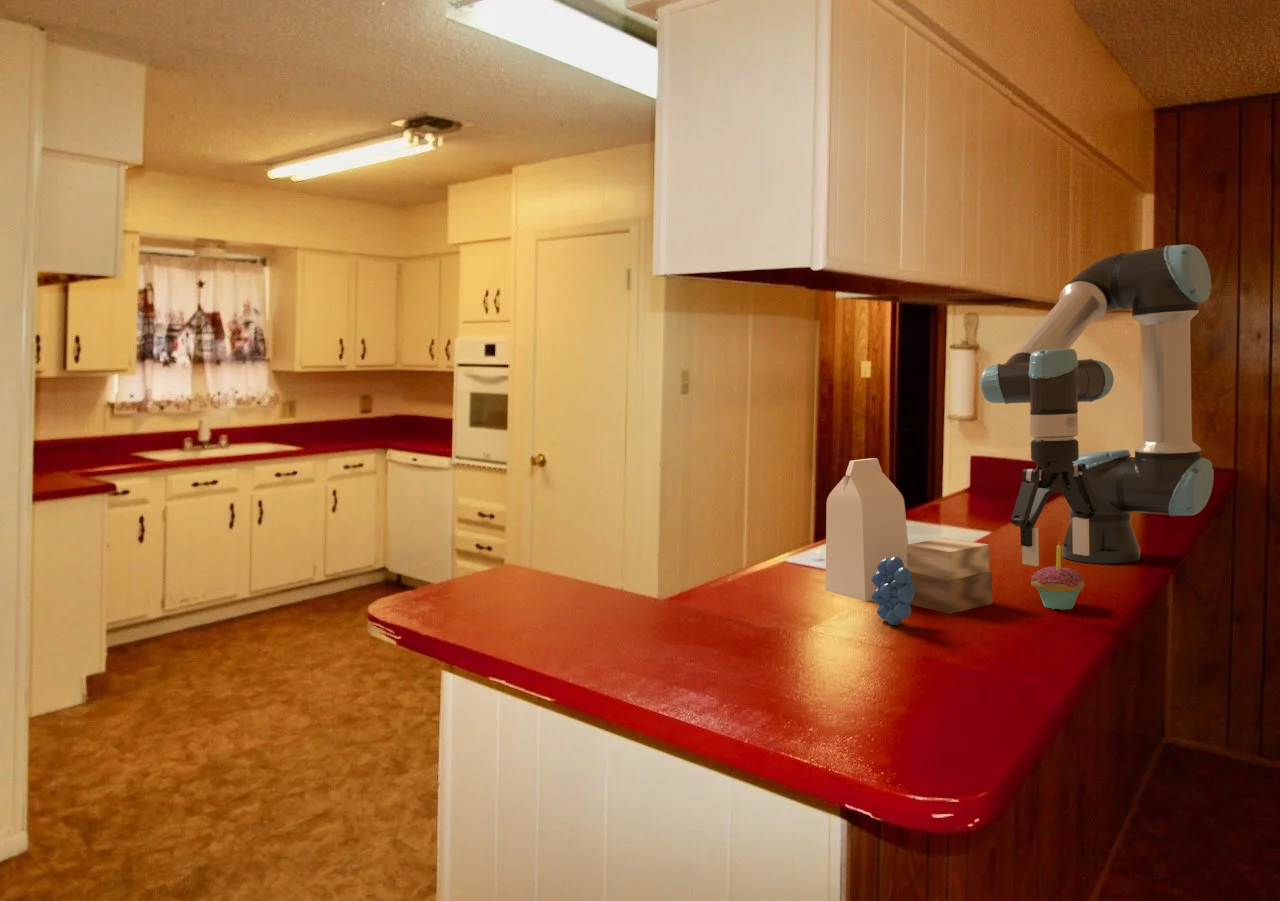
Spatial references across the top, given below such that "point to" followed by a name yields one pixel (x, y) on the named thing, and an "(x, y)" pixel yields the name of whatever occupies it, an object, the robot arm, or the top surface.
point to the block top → (948, 558)
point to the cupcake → (1058, 585)
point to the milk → (862, 529)
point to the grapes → (893, 590)
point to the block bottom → (952, 592)
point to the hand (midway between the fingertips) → (1056, 559)
